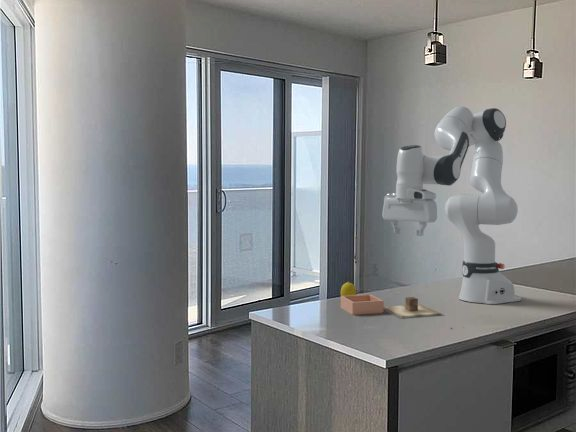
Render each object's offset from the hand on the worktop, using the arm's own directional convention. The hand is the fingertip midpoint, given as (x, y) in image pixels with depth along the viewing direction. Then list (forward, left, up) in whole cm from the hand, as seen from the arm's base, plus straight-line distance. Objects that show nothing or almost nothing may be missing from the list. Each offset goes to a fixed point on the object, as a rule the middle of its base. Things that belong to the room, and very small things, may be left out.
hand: (408, 234), depth 211 cm
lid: (0, +4, -25) cm, 26 cm away
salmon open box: (+15, -3, -26) cm, 31 cm away
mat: (0, +4, -26) cm, 27 cm away
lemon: (+14, -18, -27) cm, 35 cm away
